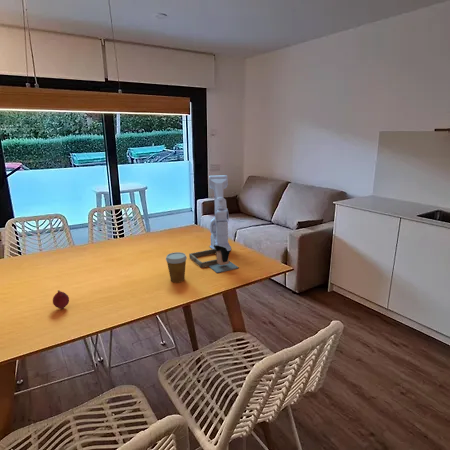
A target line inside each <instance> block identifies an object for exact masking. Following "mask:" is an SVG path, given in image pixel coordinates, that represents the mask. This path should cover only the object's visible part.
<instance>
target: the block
mask: <svg viewBox="0 0 450 450" xmlns="http://www.w3.org/2000/svg"><path fill="white" fill-rule="evenodd" d="M229 257H230V256H228V260H227V262H223V260H222V254H221V252H220V251H217V255H216V259H217V263H218V264H220V265H225V264H229V260H230V259H229Z"/></svg>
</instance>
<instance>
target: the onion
mask: <svg viewBox="0 0 450 450" xmlns="http://www.w3.org/2000/svg"><path fill="white" fill-rule="evenodd" d="M69 302H70V297H69V295H68V294H67V293H65V292H64V291H62V290H60V289H58V290H57V293H55V295H54V296H53V297H52V305H53V306H54V307H55V308H58V309H61V310H63V309H64V308H66V307H67V306H68V304H69Z"/></svg>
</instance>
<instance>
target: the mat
mask: <svg viewBox="0 0 450 450" xmlns="http://www.w3.org/2000/svg"><path fill="white" fill-rule="evenodd" d="M208 268H209V269H210V270H212V271H213V272H215V273H216V274H220V273H221V274H222V273H225V272H228V271H229V272H230V271H233V270H238V269H239V266H237V265H236V264H234V263H233V262H232V261H229V264H225V265H220V264H213V265H209V266H208Z"/></svg>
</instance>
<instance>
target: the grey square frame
mask: <svg viewBox="0 0 450 450" xmlns="http://www.w3.org/2000/svg"><path fill="white" fill-rule="evenodd" d="M214 254H215V255H216V256H217V252H216V249H212V248H211V249H206V250H201V251H197V252H192V253H189V259H190V260H191V261H192V262H193V263H195V264H196V265H197V266H199V267H200V268H201V269H202V268H206V267H208V266H209V265H213V264H218V263H217V258H215V259H212V260H206V261H201V260H200V259H198V257H204V256H209V255H214ZM208 268H209V267H208Z"/></svg>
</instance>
